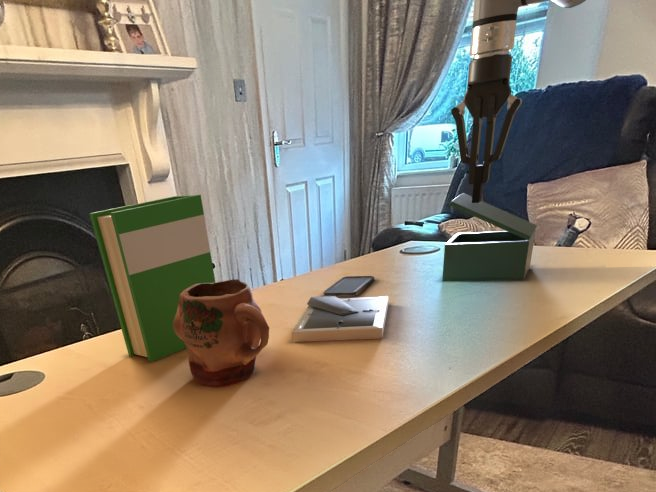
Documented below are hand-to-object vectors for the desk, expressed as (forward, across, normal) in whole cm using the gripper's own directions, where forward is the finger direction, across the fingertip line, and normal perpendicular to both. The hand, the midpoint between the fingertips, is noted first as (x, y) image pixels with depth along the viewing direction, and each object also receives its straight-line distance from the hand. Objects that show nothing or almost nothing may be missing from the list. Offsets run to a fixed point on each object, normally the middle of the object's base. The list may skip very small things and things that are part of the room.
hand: (476, 201), depth 111 cm
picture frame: (+15, -16, -37) cm, 43 cm away
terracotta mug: (+15, -24, -66) cm, 72 cm away
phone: (+15, -24, -12) cm, 31 cm away
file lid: (+3, +4, 0) cm, 5 cm away
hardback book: (+15, -44, -53) cm, 71 cm away
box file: (+15, +4, 0) cm, 15 cm away
